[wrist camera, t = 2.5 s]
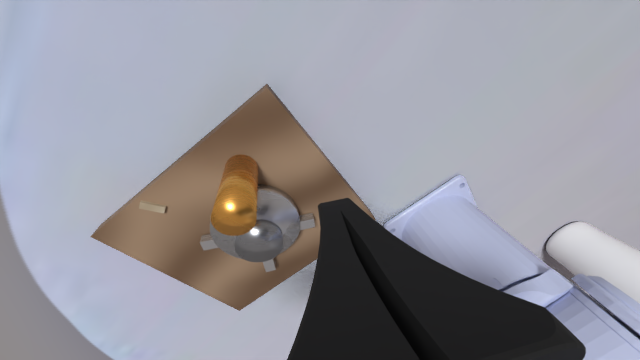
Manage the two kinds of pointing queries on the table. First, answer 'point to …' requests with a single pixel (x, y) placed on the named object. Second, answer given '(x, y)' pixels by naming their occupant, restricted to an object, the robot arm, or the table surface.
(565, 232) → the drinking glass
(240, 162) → the dial
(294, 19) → the table surface
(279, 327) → the table surface
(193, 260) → the walnut base
